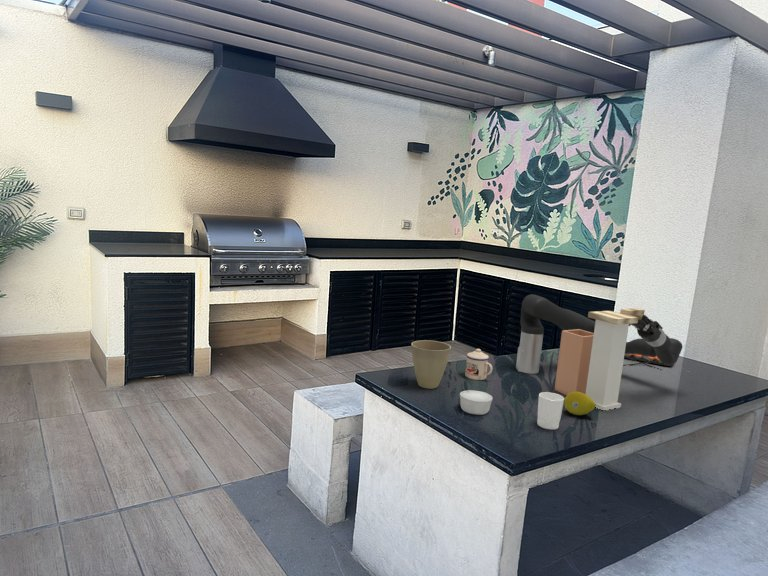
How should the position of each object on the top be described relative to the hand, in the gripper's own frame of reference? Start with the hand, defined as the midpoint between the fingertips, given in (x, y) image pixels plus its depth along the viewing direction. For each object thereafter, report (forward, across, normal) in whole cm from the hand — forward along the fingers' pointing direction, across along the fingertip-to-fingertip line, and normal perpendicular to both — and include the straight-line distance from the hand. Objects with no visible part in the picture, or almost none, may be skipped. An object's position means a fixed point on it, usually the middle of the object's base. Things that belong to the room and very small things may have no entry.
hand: (632, 314), depth 207 cm
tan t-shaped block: (+5, 0, +4) cm, 6 cm away
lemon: (+8, +4, +44) cm, 44 cm away
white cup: (+24, +7, +53) cm, 58 cm away
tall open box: (-8, -13, +34) cm, 38 cm away
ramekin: (+36, -13, +60) cm, 71 cm away
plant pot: (+37, -39, +60) cm, 81 cm away
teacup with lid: (+14, -40, +47) cm, 63 cm away
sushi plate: (-70, -34, -1) cm, 78 cm away
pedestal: (-7, 0, +35) cm, 35 cm away
